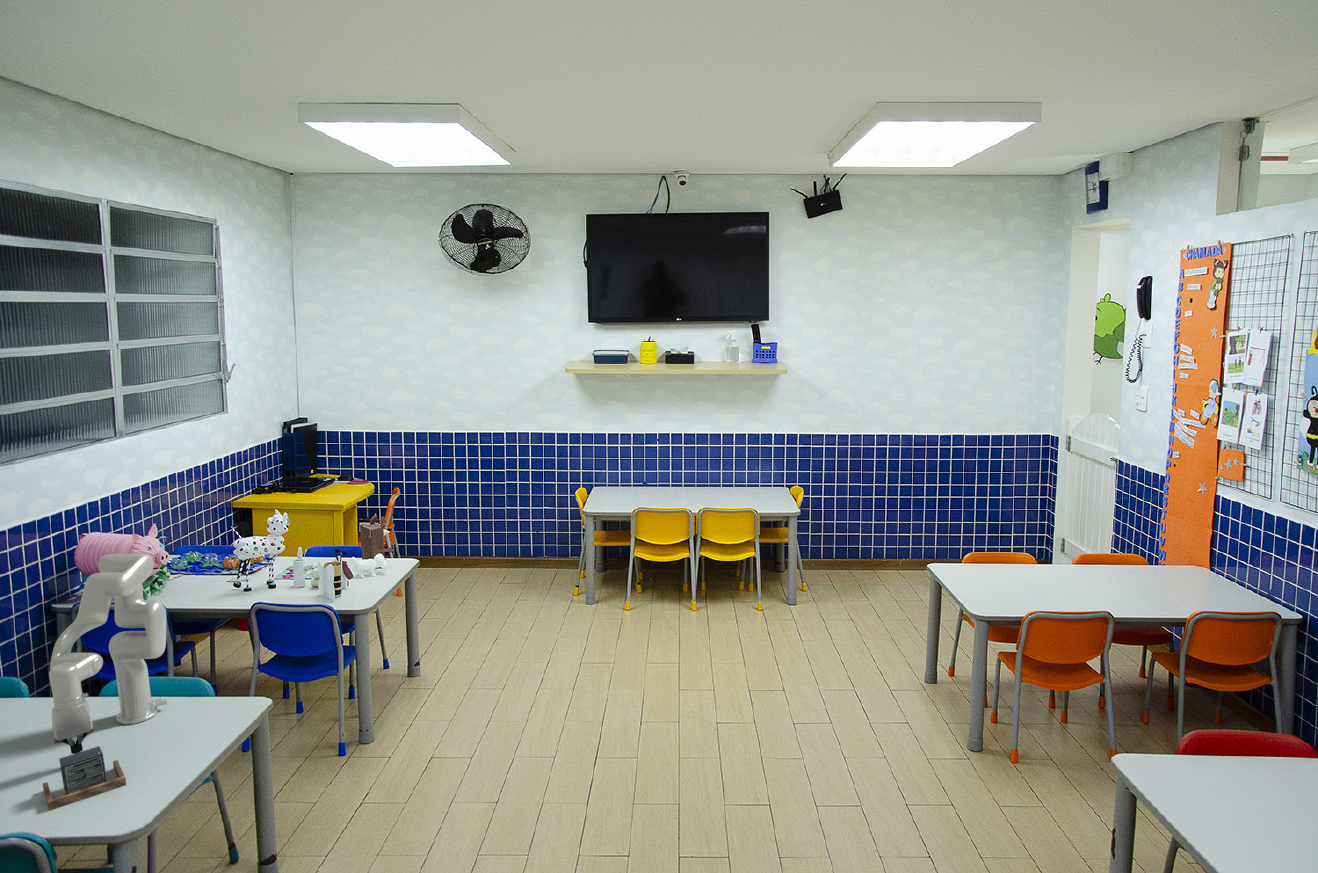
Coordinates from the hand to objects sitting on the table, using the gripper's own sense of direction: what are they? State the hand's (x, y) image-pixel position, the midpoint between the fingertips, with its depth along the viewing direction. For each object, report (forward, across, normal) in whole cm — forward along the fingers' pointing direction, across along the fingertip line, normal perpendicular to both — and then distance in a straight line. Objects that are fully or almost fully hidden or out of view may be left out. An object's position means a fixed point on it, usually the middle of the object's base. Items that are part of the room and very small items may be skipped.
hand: (77, 754), depth 270 cm
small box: (+3, 0, +16) cm, 17 cm away
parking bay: (+3, +1, +17) cm, 17 cm away
